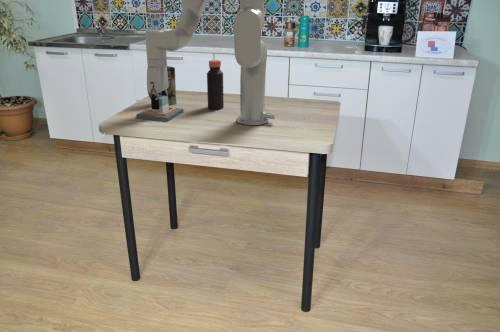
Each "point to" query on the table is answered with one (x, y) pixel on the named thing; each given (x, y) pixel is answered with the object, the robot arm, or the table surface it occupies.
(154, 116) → the slate plate
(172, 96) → the coffee box
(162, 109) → the brick stack
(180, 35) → the robot arm
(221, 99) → the bottle
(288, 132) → the table surface
